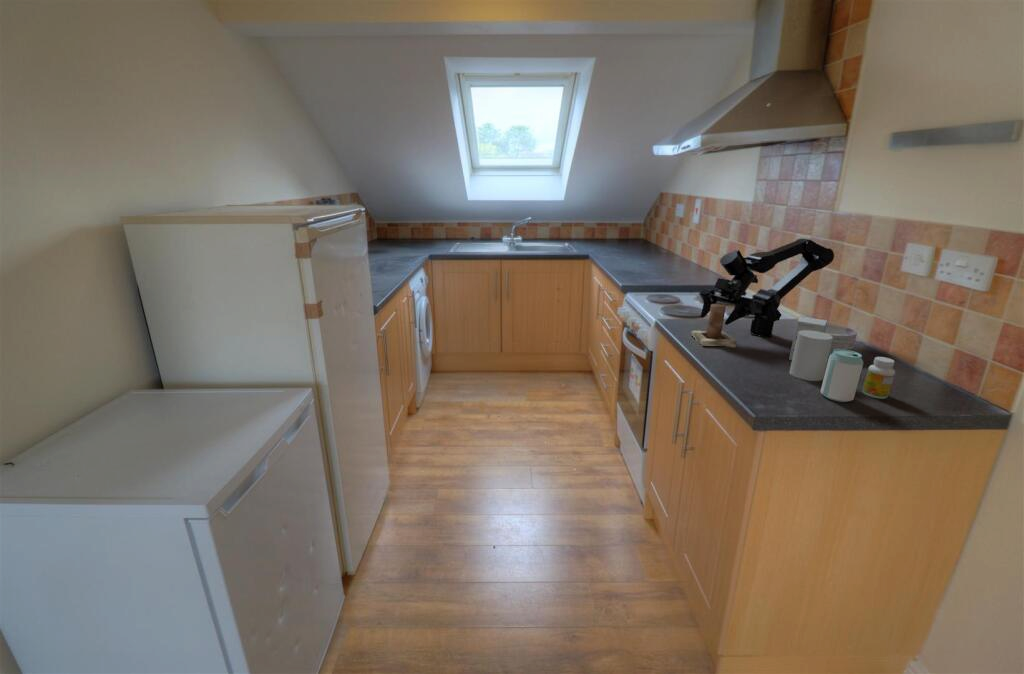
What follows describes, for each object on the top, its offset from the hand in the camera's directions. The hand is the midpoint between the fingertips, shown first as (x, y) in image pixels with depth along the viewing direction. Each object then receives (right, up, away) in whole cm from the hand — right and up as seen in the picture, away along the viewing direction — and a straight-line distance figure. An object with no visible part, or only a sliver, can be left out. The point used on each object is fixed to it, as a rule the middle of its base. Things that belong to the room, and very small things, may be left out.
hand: (713, 320), depth 157 cm
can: (+15, -21, -37) cm, 45 cm away
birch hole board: (+1, -7, +3) cm, 8 cm away
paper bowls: (+34, -10, -4) cm, 35 cm away
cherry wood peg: (+1, -7, +3) cm, 8 cm away
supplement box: (+23, -13, -12) cm, 28 cm away
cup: (+16, -16, -24) cm, 33 cm away
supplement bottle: (+27, -20, -35) cm, 49 cm away
